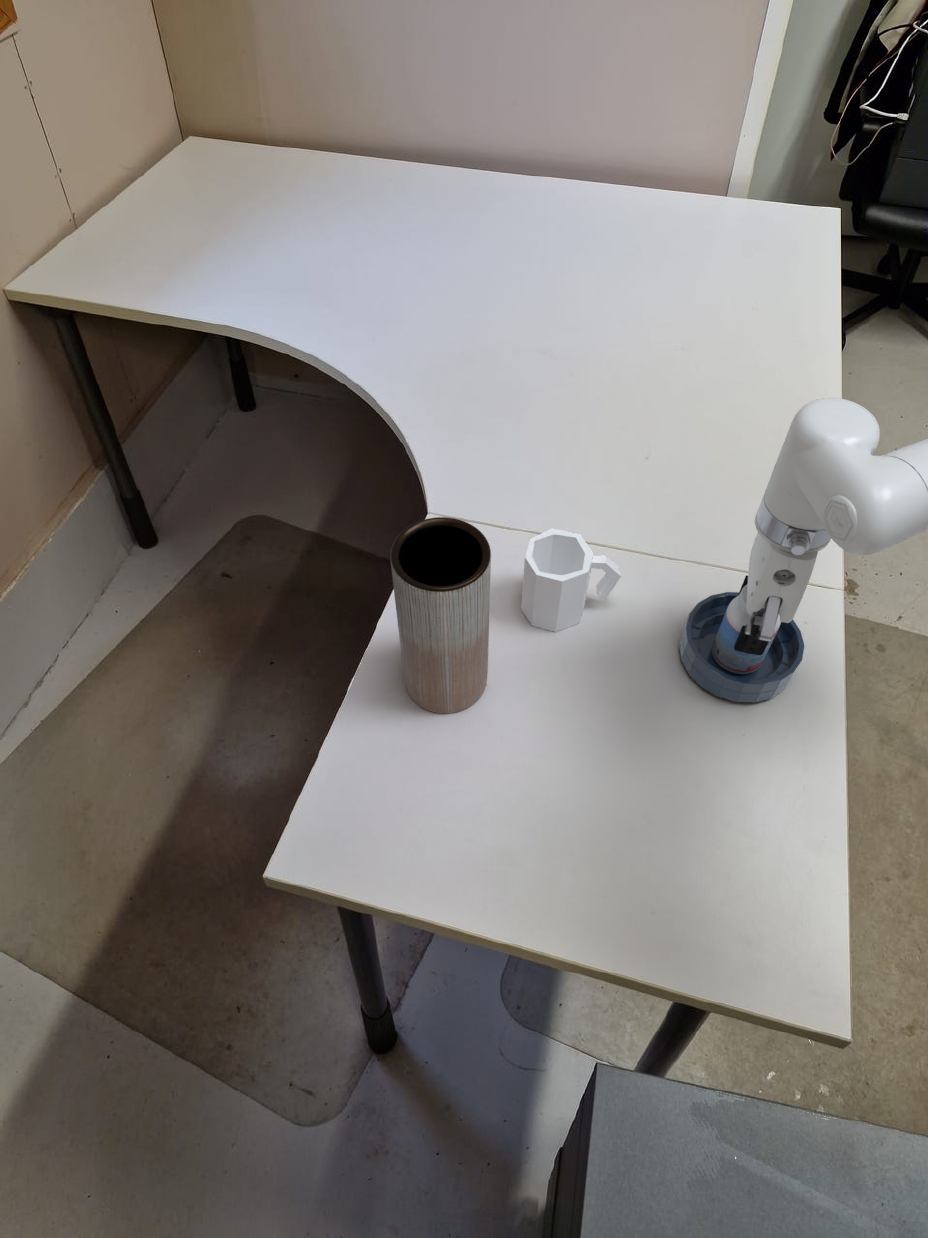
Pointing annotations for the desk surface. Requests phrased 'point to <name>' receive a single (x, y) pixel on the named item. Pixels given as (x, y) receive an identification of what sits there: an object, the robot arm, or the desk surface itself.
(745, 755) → the desk surface
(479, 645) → the planter
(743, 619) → the pill bottle
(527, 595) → the mug
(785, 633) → the dish
